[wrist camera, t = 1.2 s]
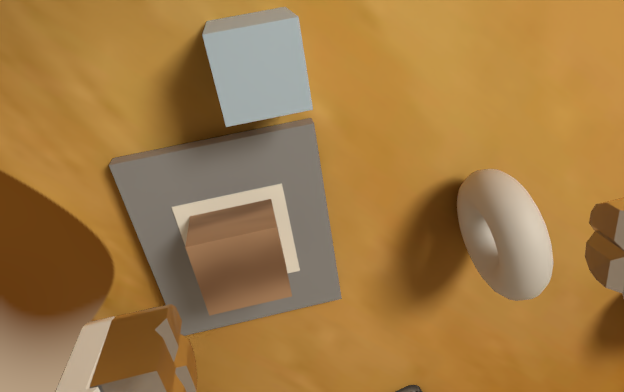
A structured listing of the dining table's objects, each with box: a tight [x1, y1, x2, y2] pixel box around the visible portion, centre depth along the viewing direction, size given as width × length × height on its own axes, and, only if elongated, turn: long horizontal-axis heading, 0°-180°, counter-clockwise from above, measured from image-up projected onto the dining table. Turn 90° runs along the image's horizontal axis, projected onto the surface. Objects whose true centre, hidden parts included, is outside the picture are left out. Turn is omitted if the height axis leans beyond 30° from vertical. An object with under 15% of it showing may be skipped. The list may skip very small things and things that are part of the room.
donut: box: [457, 169, 553, 301], centre depth 33 cm, size 10×4×10 cm, turn 15°
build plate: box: [109, 118, 342, 336], centre depth 35 cm, size 16×14×1 cm
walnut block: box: [185, 199, 292, 316], centre depth 33 cm, size 6×6×4 cm
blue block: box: [202, 7, 313, 127], centre depth 27 cm, size 5×5×6 cm
